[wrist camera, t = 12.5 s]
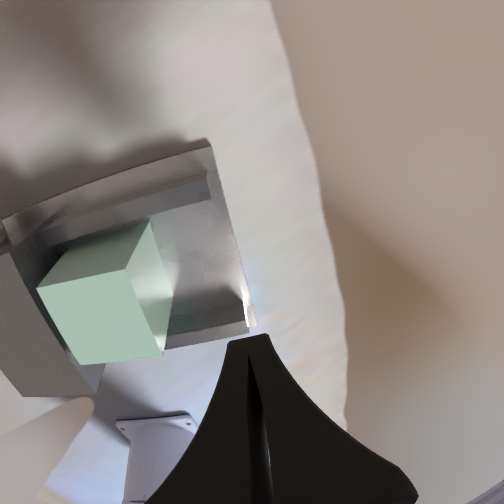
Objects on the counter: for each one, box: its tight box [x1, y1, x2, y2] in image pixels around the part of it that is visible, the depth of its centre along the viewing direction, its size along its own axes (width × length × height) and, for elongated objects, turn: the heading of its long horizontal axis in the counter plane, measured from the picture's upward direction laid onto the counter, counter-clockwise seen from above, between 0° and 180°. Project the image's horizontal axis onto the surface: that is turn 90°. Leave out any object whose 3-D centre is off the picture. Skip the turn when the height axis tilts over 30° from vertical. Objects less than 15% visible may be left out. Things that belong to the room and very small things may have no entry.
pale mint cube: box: [36, 222, 173, 365], centre depth 16 cm, size 5×5×6 cm
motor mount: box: [0, 145, 258, 397], centre depth 16 cm, size 13×18×6 cm
